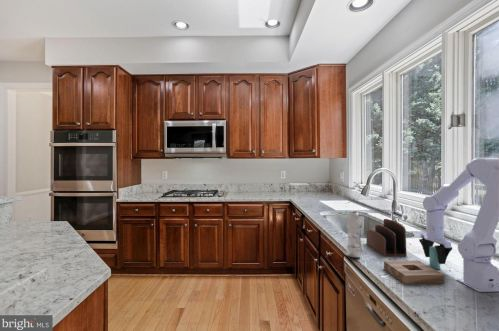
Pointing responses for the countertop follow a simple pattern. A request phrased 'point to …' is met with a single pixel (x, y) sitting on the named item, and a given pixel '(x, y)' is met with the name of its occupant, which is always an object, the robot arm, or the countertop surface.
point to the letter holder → (388, 238)
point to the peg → (433, 258)
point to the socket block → (413, 272)
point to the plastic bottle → (354, 236)
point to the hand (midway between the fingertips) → (434, 260)
